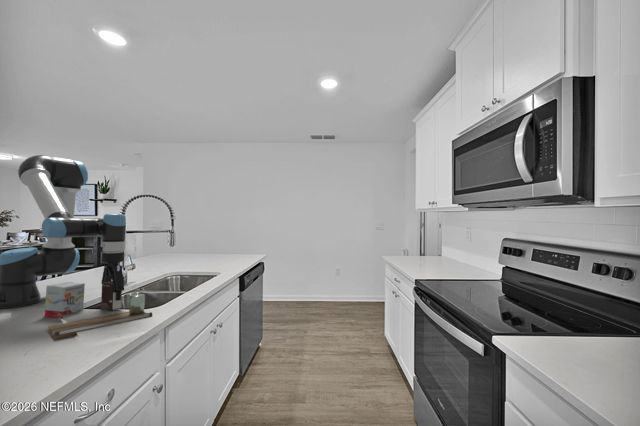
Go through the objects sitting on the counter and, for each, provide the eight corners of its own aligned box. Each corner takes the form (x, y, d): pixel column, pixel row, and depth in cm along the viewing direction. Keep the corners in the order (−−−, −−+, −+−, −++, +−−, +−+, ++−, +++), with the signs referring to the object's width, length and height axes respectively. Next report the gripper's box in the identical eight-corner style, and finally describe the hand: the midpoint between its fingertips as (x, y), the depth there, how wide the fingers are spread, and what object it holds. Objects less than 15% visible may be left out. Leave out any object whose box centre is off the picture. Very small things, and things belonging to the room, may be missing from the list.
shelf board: (48, 330, 102) (48, 322, 102) (140, 312, 123) (140, 306, 123) (55, 340, 94) (55, 332, 94) (152, 319, 115) (152, 312, 115)
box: (99, 313, 121) (101, 282, 121) (110, 309, 125) (112, 280, 125) (111, 314, 119) (112, 283, 119) (121, 311, 123) (123, 281, 124)
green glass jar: (127, 313, 117) (127, 295, 117) (141, 310, 121) (142, 293, 121) (131, 316, 114) (132, 297, 114) (146, 313, 118) (146, 295, 118)
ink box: (62, 318, 113) (63, 286, 113) (43, 316, 115) (45, 285, 115) (84, 312, 122) (85, 282, 122) (66, 310, 123) (68, 281, 124)
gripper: (93, 250, 128) (91, 301, 127) (112, 255, 112) (110, 313, 111) (114, 249, 134) (112, 297, 133) (134, 254, 117) (133, 309, 117)
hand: (111, 305), depth 122 cm, fingers open, 13 cm apart
